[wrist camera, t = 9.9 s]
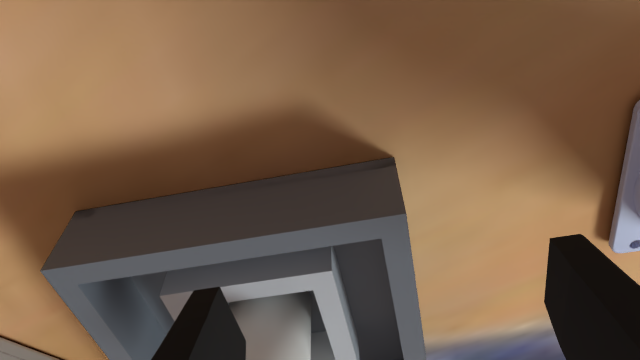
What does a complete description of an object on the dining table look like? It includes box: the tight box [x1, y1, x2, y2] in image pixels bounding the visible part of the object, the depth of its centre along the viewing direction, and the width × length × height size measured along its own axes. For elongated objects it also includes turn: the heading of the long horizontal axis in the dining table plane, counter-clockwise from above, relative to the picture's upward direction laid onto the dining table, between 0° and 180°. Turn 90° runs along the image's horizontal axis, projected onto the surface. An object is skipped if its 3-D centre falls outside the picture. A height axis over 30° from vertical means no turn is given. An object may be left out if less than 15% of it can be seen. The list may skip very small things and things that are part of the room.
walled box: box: [41, 157, 426, 360], centre depth 24 cm, size 14×14×4 cm
